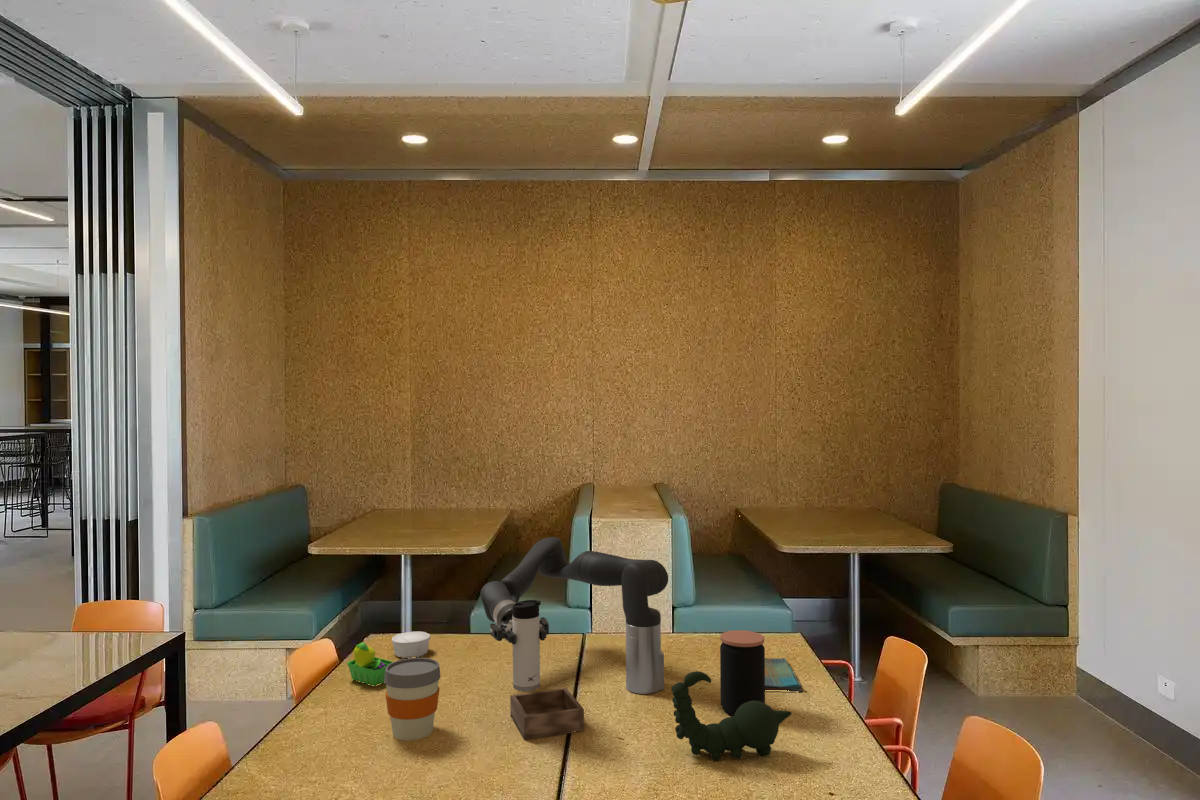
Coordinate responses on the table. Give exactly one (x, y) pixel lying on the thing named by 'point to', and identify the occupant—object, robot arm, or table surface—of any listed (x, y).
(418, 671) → the reusable coffee cup
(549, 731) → the walnut crate
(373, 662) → the fruit basket
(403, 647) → the ramekin
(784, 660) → the dish towel
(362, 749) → the table surface
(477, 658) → the table surface
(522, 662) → the travel mug
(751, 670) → the coffee jar
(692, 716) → the toy figurine
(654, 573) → the robot arm
